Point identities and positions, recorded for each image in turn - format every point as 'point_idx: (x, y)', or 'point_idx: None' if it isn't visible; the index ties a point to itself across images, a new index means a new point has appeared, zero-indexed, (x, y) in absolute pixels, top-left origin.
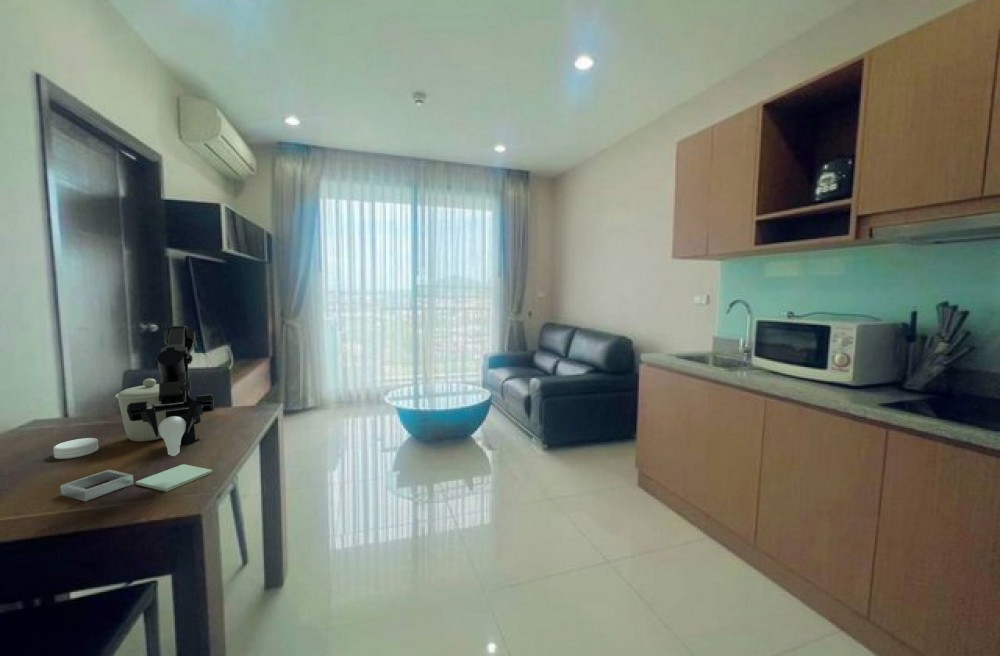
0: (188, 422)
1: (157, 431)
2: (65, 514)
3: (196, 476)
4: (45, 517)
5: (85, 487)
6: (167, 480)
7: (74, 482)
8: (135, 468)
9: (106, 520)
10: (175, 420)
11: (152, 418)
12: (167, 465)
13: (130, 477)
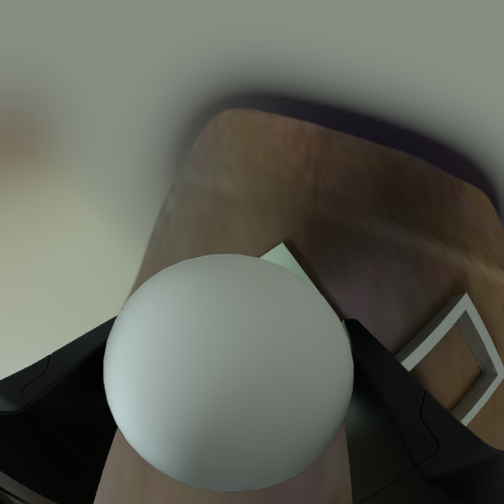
0: (91, 340)
1: (349, 336)
2: (460, 240)
3: None
4: (482, 248)
5: (462, 399)
6: None
7: (490, 384)
8: None
9: (376, 158)
10: (163, 290)
11: (444, 441)
12: (286, 484)
13: None
